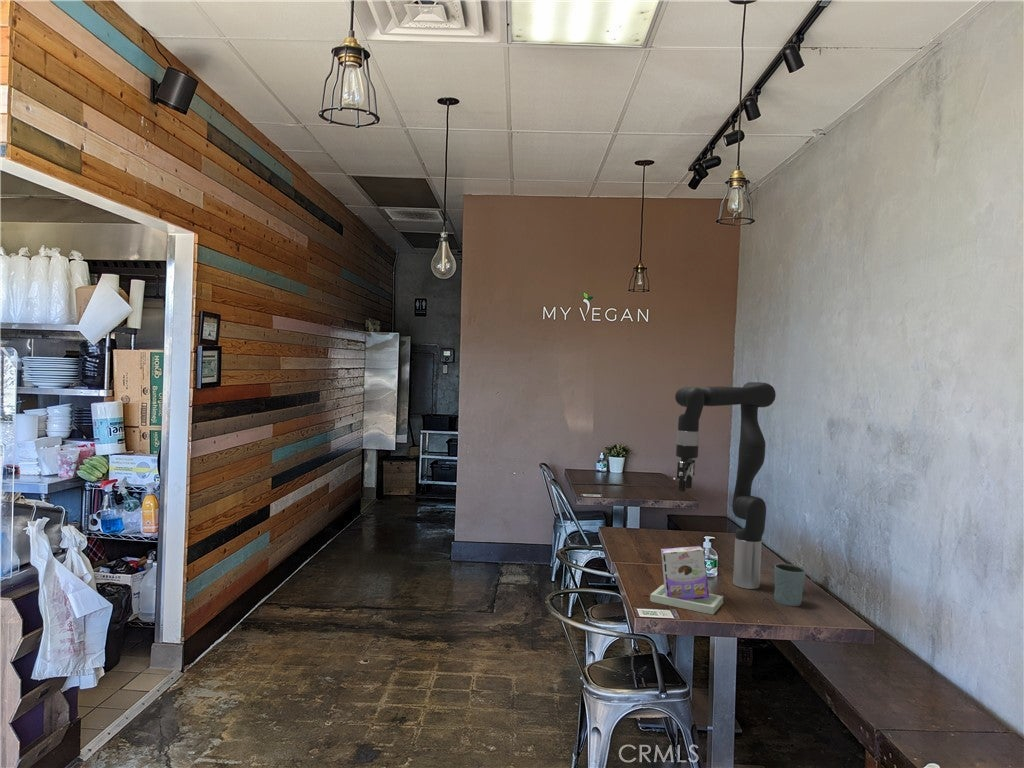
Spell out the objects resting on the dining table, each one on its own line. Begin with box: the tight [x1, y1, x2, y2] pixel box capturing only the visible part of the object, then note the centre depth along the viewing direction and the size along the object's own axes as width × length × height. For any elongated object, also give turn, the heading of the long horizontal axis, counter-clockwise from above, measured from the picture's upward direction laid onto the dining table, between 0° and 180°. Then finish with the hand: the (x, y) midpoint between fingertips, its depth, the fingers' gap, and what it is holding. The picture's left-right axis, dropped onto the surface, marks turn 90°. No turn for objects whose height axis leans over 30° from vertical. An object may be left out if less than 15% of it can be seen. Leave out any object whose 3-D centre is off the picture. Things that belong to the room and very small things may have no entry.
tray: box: [649, 584, 724, 615], centre depth 226 cm, size 14×21×2 cm, turn 61°
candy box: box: [660, 545, 710, 600], centre depth 227 cm, size 14×6×16 cm, turn 86°
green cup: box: [773, 563, 807, 607], centre depth 232 cm, size 10×10×12 cm
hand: (685, 489), depth 237 cm, fingers open, 8 cm apart
